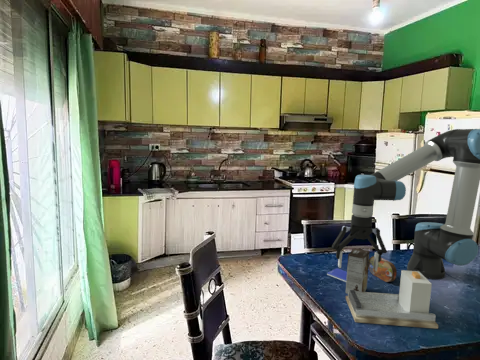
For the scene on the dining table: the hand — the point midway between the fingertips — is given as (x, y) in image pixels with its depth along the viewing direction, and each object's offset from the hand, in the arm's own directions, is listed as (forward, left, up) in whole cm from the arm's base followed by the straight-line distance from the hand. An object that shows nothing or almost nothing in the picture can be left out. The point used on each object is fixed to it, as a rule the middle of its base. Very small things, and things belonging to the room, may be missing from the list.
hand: (357, 268), depth 132 cm
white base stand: (-8, +15, -8) cm, 19 cm away
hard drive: (+2, -13, -10) cm, 17 cm away
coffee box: (0, 0, -10) cm, 10 cm away
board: (-8, +15, -10) cm, 19 cm away
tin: (-14, -15, -10) cm, 23 cm away
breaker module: (-16, +15, -8) cm, 23 cm away
